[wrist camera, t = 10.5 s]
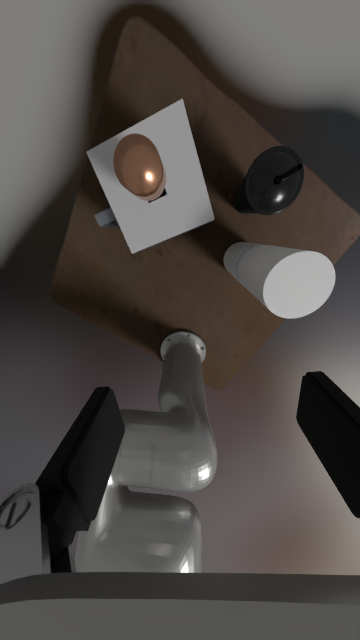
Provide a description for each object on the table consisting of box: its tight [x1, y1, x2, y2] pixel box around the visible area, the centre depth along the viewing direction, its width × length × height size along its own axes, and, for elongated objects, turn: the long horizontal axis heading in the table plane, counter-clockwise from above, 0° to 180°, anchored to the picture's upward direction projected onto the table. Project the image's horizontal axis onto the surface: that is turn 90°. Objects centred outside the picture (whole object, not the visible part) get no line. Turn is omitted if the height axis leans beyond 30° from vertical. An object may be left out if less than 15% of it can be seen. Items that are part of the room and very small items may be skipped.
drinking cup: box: [234, 146, 304, 215], centre depth 29 cm, size 8×8×20 cm
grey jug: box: [86, 99, 215, 254], centre depth 31 cm, size 16×12×17 cm
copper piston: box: [113, 133, 167, 203], centre depth 26 cm, size 9×9×23 cm
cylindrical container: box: [223, 242, 335, 318], centre depth 31 cm, size 7×7×25 cm
